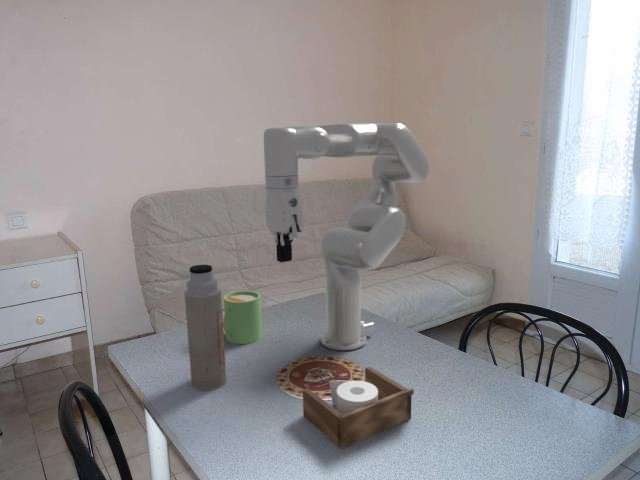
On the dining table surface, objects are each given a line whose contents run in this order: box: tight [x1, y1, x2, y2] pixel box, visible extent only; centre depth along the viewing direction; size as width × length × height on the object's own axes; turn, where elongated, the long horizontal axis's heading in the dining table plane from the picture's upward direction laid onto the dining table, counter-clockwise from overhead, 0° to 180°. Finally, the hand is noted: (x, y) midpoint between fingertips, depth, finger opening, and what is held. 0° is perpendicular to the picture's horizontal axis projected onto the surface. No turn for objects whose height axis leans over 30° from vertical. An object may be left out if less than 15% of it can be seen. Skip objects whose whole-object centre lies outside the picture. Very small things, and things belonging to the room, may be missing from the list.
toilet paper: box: [329, 380, 378, 415], centre depth 102 cm, size 8×11×7 cm
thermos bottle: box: [184, 264, 227, 392], centre depth 116 cm, size 8×8×28 cm
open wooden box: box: [302, 366, 415, 450], centre depth 102 cm, size 17×14×7 cm
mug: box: [222, 290, 263, 345], centre depth 142 cm, size 13×10×12 cm
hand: (284, 260), depth 120 cm, fingers closed
